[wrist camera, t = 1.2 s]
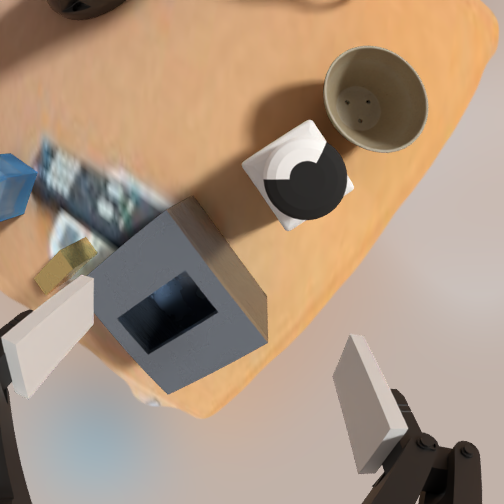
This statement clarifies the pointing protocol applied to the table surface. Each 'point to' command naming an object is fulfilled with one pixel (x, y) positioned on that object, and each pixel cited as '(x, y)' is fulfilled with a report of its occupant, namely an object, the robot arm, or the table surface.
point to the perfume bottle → (14, 186)
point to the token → (65, 265)
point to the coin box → (180, 298)
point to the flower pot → (375, 99)
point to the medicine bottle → (299, 175)
